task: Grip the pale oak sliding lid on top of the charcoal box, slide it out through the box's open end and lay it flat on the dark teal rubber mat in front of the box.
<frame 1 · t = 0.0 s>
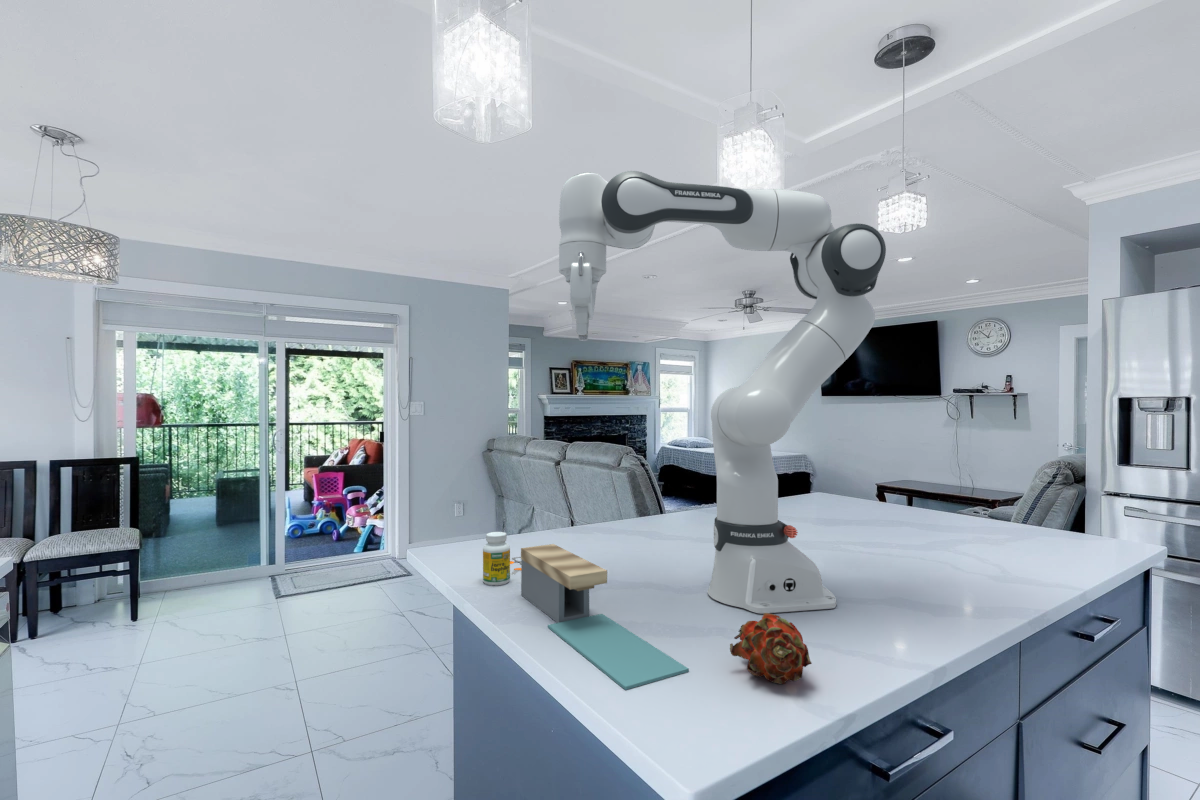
hand: (582, 337, 107), 48 cm above the counter, fingers open, 8 cm apart
supplement bottle: (496, 582, 115), on the counter
key chain: (519, 567, 127), on the counter
teal mat: (611, 647, 84), on the counter
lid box: (553, 605, 101), on the counter
dragon fruit: (768, 676, 75), on the counter
oak lid: (560, 574, 98), point 6 cm above the counter, touching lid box
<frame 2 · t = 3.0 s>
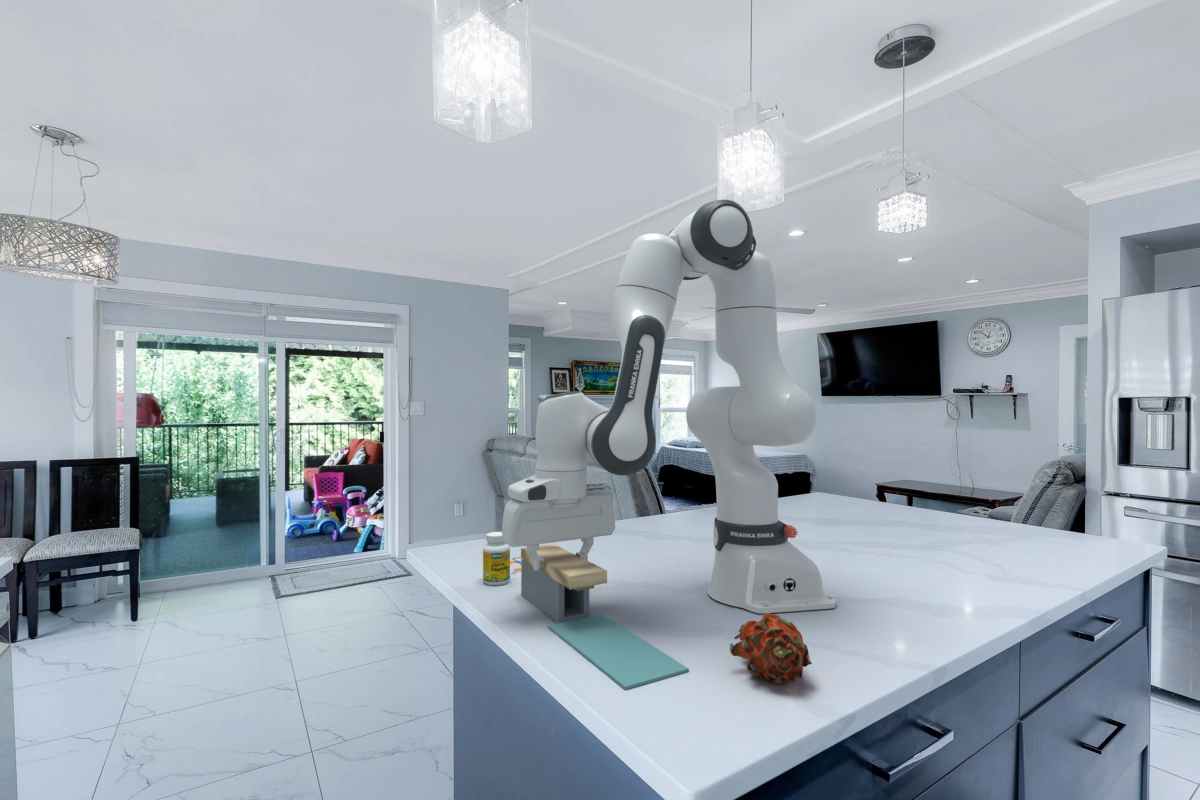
hand: (560, 566, 98), 8 cm above the counter, fingers closed on oak lid, 7 cm apart
oak lid: (560, 574, 98), point 6 cm above the counter, touching gripper, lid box
everything else where it was.
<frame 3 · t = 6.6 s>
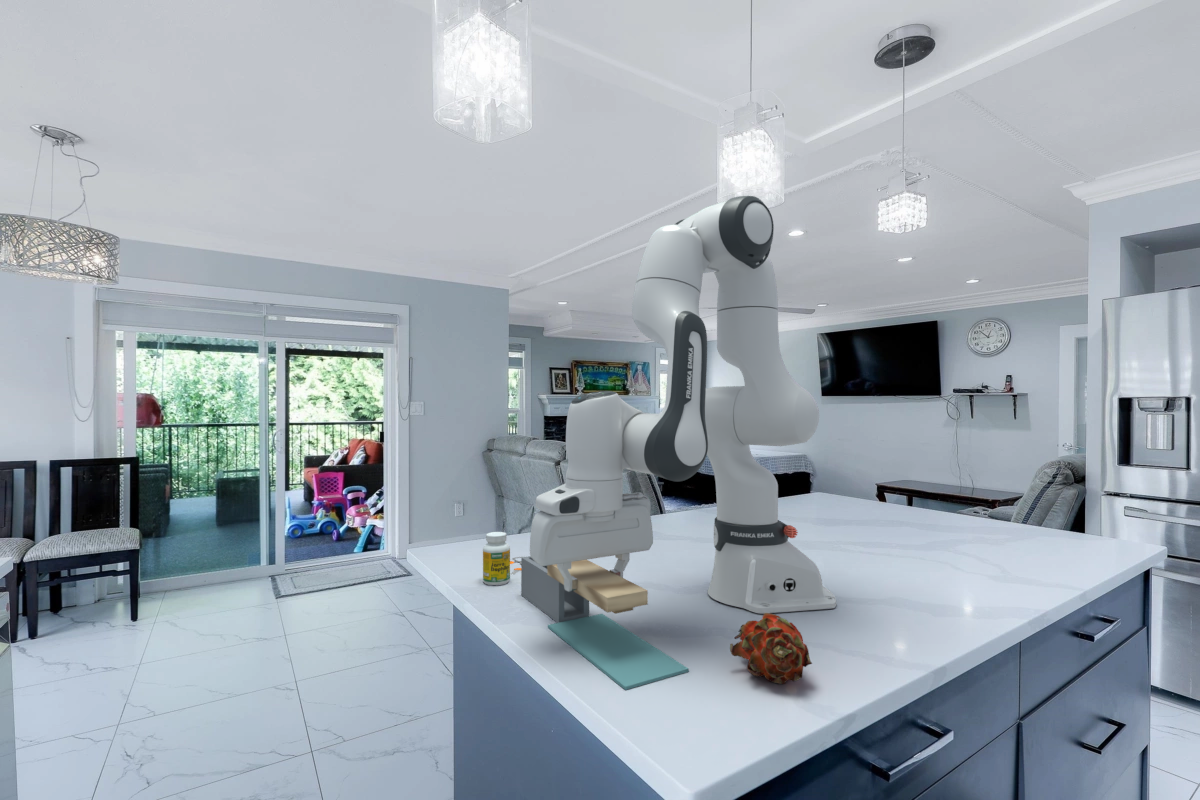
hand: (594, 585, 89), 7 cm above the counter, fingers closed on oak lid, 7 cm apart
oak lid: (593, 593, 89), point 6 cm above the counter, touching gripper
everything else where it was.
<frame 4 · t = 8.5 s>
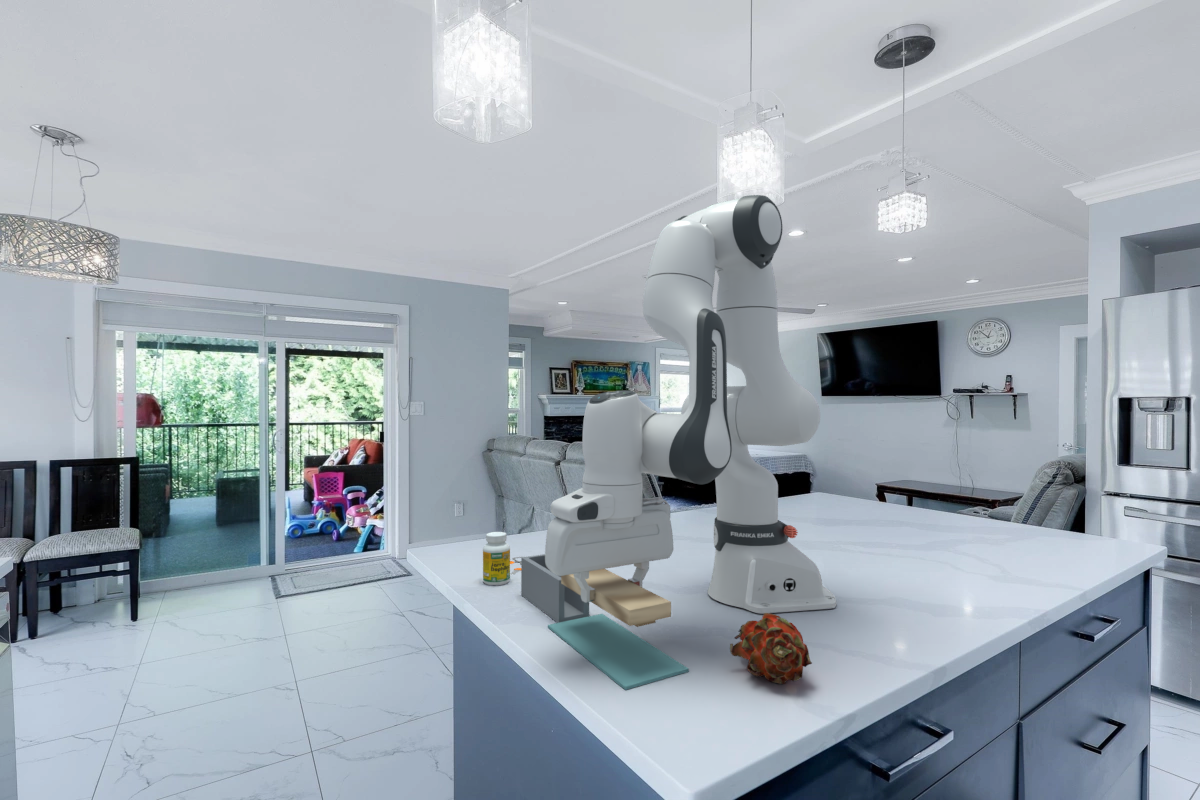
hand: (612, 596, 84), 7 cm above the counter, fingers closed on oak lid, 7 cm apart
oak lid: (611, 604, 84), point 6 cm above the counter, touching gripper
everything else where it was.
when the fingers open (3 cm above the counter, at t = 9.9 s): oak lid drops 1 cm, resting on teal mat.
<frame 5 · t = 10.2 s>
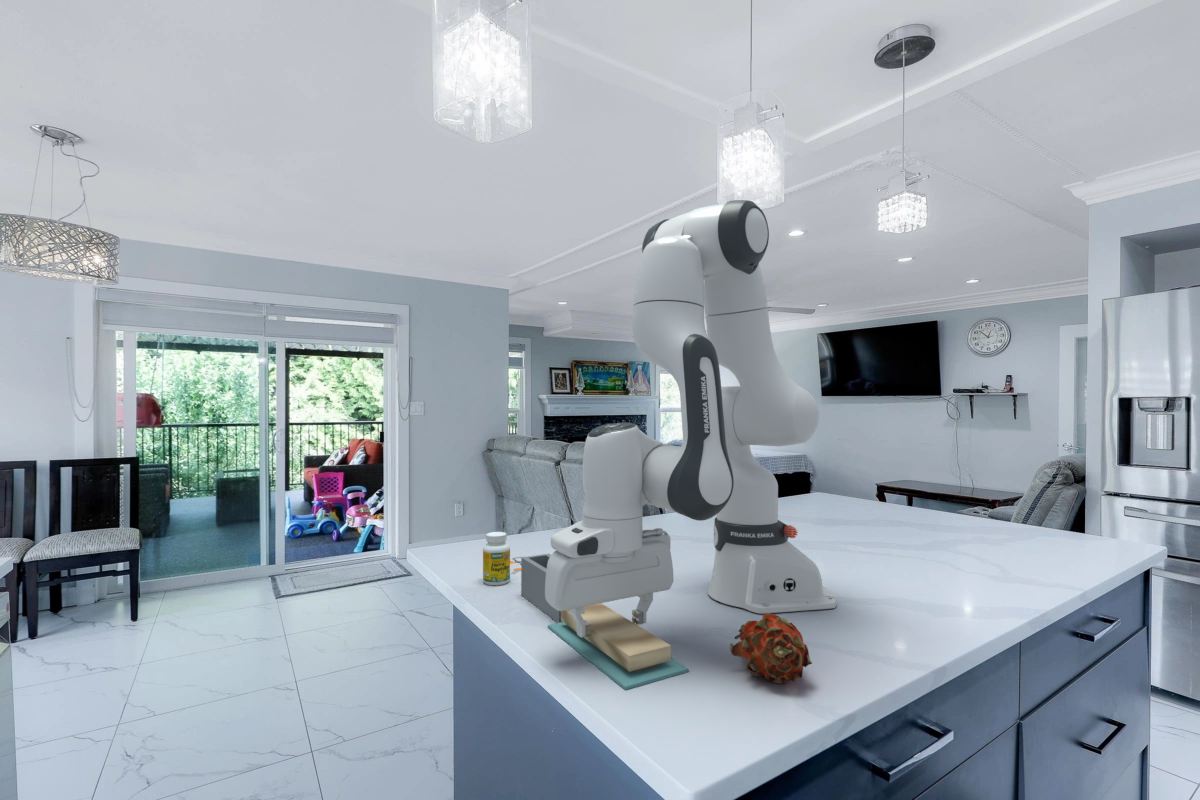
hand: (612, 629, 84), 3 cm above the counter, fingers open, 8 cm apart
oak lid: (611, 644, 84), resting on teal mat
everything else where it was.
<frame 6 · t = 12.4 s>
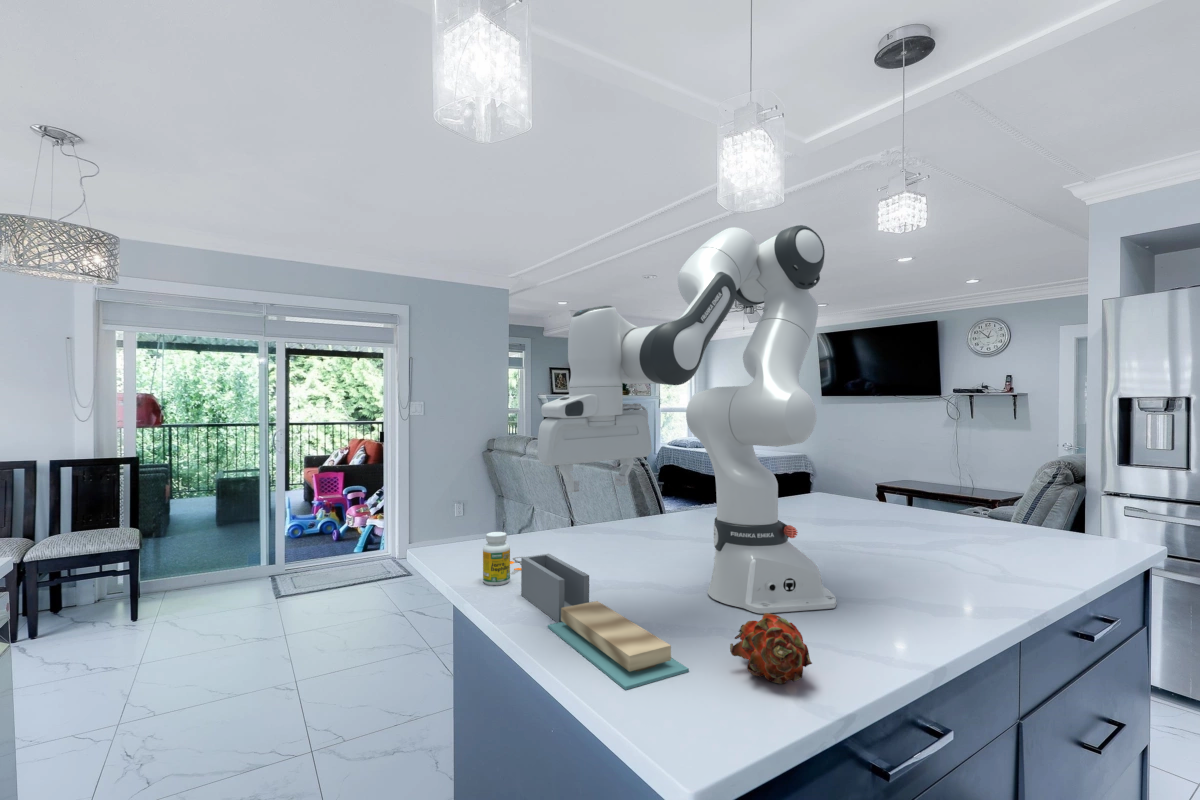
hand: (597, 488, 95), 22 cm above the counter, fingers open, 8 cm apart
nothing on the counter moved.
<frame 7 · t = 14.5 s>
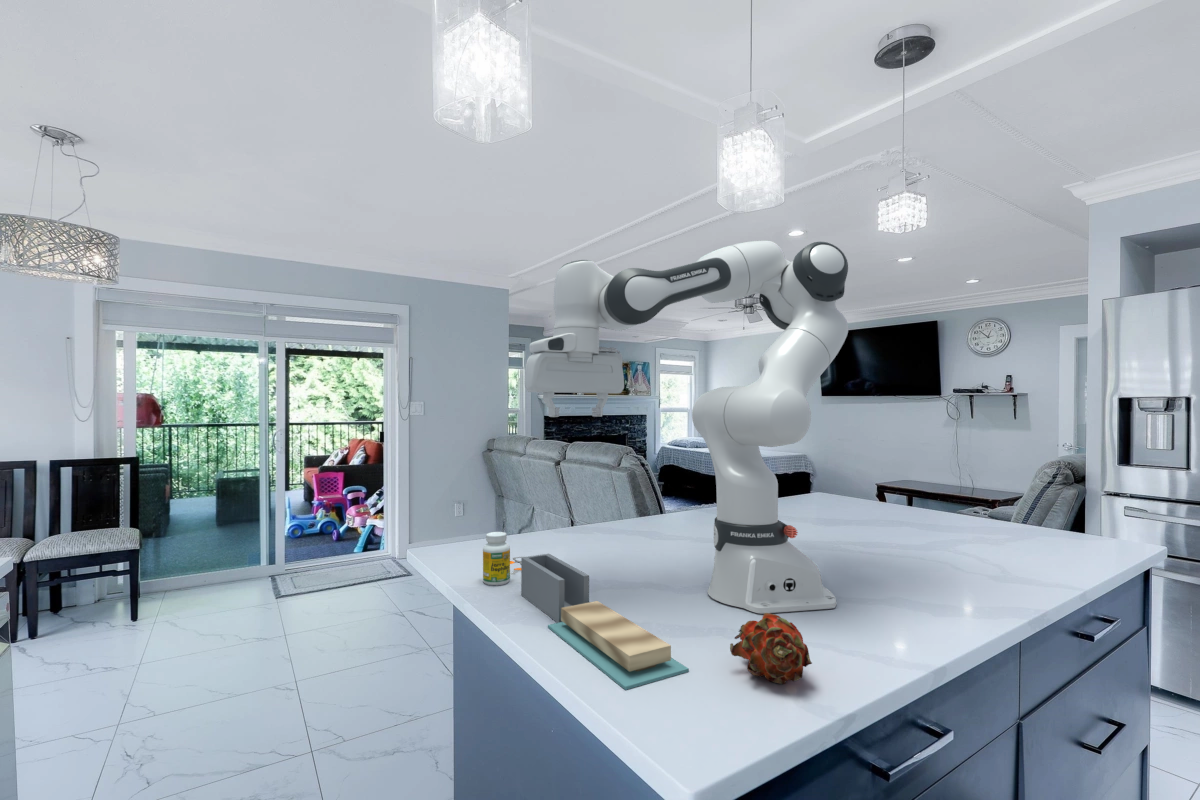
hand: (576, 416, 111), 33 cm above the counter, fingers open, 8 cm apart
nothing on the counter moved.
at the end: oak lid inside the target area on the teal mat (0.2 cm from its centre), point 0.4 cm above the teal mat's base; oak lid tilted 0°; the gripper is holding nothing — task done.
